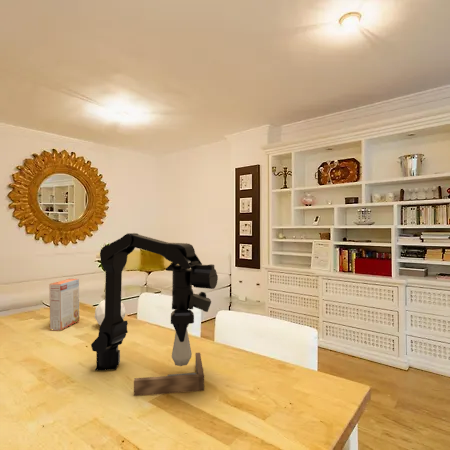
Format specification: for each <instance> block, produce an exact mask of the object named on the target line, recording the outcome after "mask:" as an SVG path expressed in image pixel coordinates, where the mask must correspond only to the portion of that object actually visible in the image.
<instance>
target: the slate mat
mask: <svg viewBox="0 0 450 450" xmlns="http://www.w3.org/2000/svg"><path fill="white" fill-rule="evenodd" d="M191 374H197V373H196V372H188V373H186V372H185V373H172V374H167V375H166V376H176V375H191Z"/></svg>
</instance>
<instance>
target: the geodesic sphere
mask: <svg viewBox="0 0 450 450" xmlns="http://www.w3.org/2000/svg"><path fill="white" fill-rule="evenodd" d="M126 310H127V309H126V307H125V304H124V303H123V302H122V301H121V317H122V318H123V320H124V319H125V317H126ZM104 317H105V299H103V300H102V301H100V302H99V303H98V305H97V306H96V308H95V309H94V319H95V320H96V322H97V324H98V325H99V326H100V325H101V323H102V321H103V319H104Z"/></svg>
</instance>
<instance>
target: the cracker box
mask: <svg viewBox="0 0 450 450" xmlns="http://www.w3.org/2000/svg"><path fill="white" fill-rule="evenodd" d="M48 285H49V287H48V288H49V330H50V329H53V330H52V331H58V330H62V329H63V330H65V329H67V328H69V327H71V326H73V325H75V324H77V323H79V322H80V278H68V279H67V278H66V279H63V280H58V281H56V282H51V283H49V284H48ZM78 321H79V322H78ZM76 322H77V323H76ZM74 323H75V324H74ZM72 324H73V325H72ZM70 325H71V326H70ZM68 326H69V327H68ZM66 327H67V328H66ZM64 328H65V329H64ZM63 330H62V331H63Z"/></svg>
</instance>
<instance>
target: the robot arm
mask: <svg viewBox="0 0 450 450" xmlns="http://www.w3.org/2000/svg"><path fill="white" fill-rule="evenodd" d="M135 249H139V250H143V251H147V252H150V253H153V254H156V255H160V256H162V257H163V258H165V260H167V261H169V262H170V264H169V265H168V266H167V267H165V271H167V272H172V283H171V284H172V287H171V288H172V289H171V291H172V292H171V296H172V298H171V299H172V300H171V310H173V311H172V312H171V313H170V324H171V325H173V326H172V327H173V328H174V330H175V331H174V332H175V333H177V336H178V338H179V340H180V342H184V339H185V334H186V330H187V331H188V327H187V325H188V324H189V325H190V324H194V323H195V313H194V312H193V311H192V310H194V308H195V309H199V310H200V311H201V310H202V311H203V312H206V313H208V312H209V310H210V306H211V304H212V300H211V298H209V297H207V293H206V292H203V291H200V292H199V293H194V290H193V289H192V288H193V287H194V288H196V289H207V290H209V289H210V290H214V289H216V288H217V285H218V279H219V278H218V277H219V275H218V273H217V270H216V269H215V264H203V263H202V262H201V260H200V259H199V257H198V255H197V253H196V251H195V247H194V246H193V245H192V244H190V243H187V242H186V243H184V242H169V241H168V242H167V241H164V240H160V239H156V238H153V237H150V236H149V237H148V236H145V235H141V234H139V233H135V232H133V233H128V232H127V233H126V234H124V235H123V236H122V237H120V238H118V239H117V240H114V241H113V242H111V243H109V244H107V245H104V246H103V247H102V248H101V249H100V252H99V258H100V265H101V267H102V268H103V271H104V272H105V287H104V288H105V289H104V291H105V295H104V300H105V317H104V319H103V321H102V323H101V325H99V329H98V336H97V337H96V339H94V341H92V343H91V344H90V345H91V350H92V352H95V353H96V356H95V357H96V360H95V361H96V365H95V366H96V367H95V368H94V371H95V372H99V371H114V370H117V368H118V366H119V365H120V363H121V350H120V349H119V345H122V344H123V341H124V339H125V338H126V336H127V334H128V333H129V331H128V320H124V319H123V318H122V317H121V302H122V284H123V283H122V282H123V281H122V278H123V277H122V276H123V275H122V274H123V271H124V268H125V266H126V264H127V262H128V255H130V254H131V253H133V251H135ZM189 325H188V326H189Z"/></svg>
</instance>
